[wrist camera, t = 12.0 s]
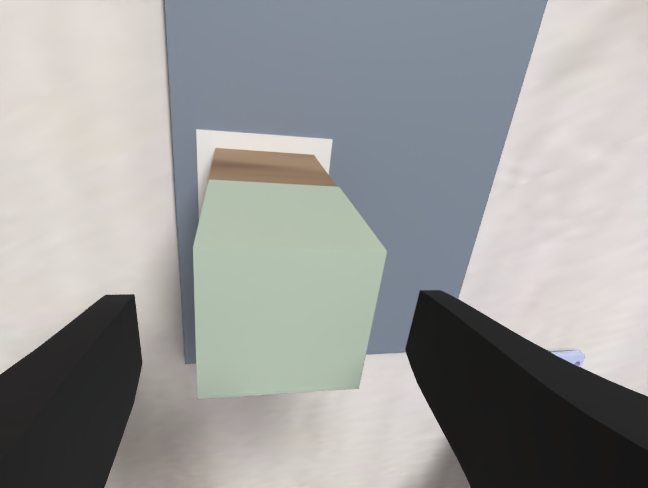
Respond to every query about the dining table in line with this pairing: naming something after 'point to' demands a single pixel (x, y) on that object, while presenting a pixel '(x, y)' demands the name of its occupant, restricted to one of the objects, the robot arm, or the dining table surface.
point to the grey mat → (355, 120)
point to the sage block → (282, 289)
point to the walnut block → (268, 167)
